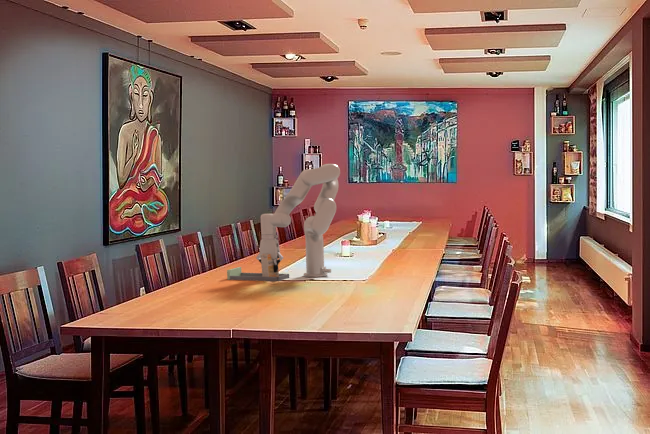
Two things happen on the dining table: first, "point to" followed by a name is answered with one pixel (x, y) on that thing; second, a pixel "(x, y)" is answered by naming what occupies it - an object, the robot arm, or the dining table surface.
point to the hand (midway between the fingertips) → (270, 271)
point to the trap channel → (252, 276)
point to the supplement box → (268, 266)
